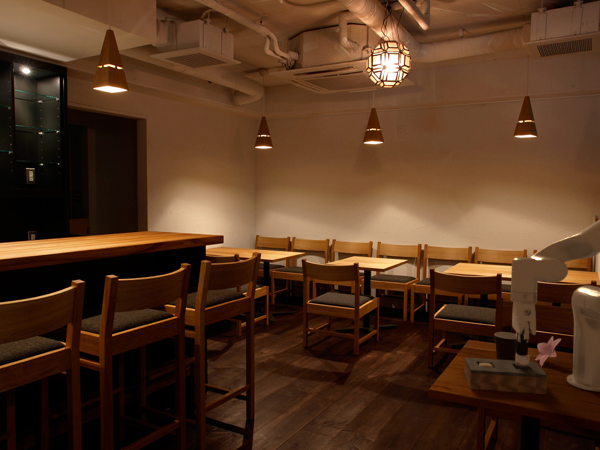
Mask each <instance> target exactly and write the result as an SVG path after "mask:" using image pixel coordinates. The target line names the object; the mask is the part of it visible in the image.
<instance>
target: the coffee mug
mask: <svg viewBox="0 0 600 450" xmlns="http://www.w3.org/2000/svg"><path fill="white" fill-rule="evenodd" d="M516 341H518V340H516V333H513V332H508V331H507V332H505V331H500V332H498V331H497V332H495V333H494V343H495V344H494V345H495V355H496V359H497V360H514V361H515V357H516Z"/></svg>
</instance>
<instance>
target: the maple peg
mask: <svg viewBox="0 0 600 450" xmlns="http://www.w3.org/2000/svg"><path fill="white" fill-rule="evenodd" d="M479 367H491V368H492V365H491V364H489V363H479Z"/></svg>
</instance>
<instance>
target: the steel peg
mask: <svg viewBox="0 0 600 450" xmlns="http://www.w3.org/2000/svg"><path fill="white" fill-rule="evenodd" d="M529 361H530V354H529V353H528V355H518V354H517V353H516V357H515V369H522V370H529Z"/></svg>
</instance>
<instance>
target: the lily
mask: <svg viewBox="0 0 600 450" xmlns="http://www.w3.org/2000/svg"><path fill="white" fill-rule="evenodd" d="M561 340H562V338H557V339H555V340H554V336H551V337H550V338H549V340H548V342H541V343H540V342H539V343H537V350H538V352H539V354H538V355H537V356H536V358H535V360H536V361H539V366H540V365H541V366H540V367H542V366H543V365H544V363H545V362H546V360H547V359H548V357H549V358H555V359H556V361H557V362H558V364H559V365H560V361H559V359H558V358H557V353H556V350H555V348H556V346H557V345H559V343H560V342H561ZM535 360H534V361H535Z"/></svg>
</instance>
